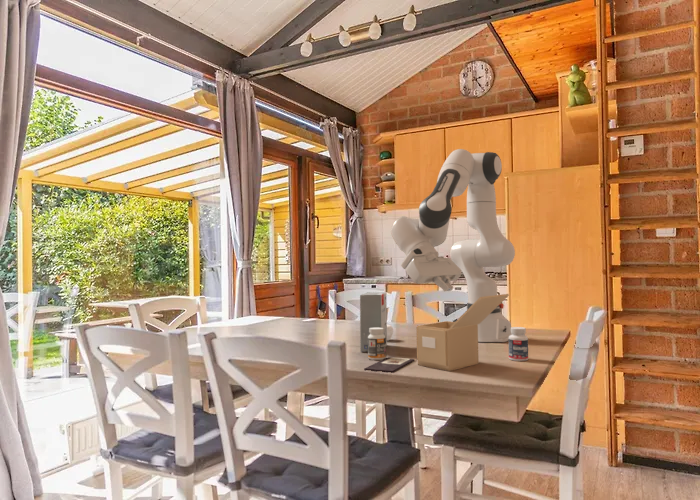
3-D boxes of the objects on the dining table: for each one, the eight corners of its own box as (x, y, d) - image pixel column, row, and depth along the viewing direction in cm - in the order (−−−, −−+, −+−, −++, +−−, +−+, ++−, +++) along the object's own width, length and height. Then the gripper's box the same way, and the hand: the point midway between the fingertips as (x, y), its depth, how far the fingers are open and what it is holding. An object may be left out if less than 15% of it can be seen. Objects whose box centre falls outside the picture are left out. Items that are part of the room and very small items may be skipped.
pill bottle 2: (512, 361, 163) (511, 329, 163) (506, 357, 169) (505, 326, 169) (531, 361, 163) (530, 329, 163) (524, 357, 169) (524, 326, 169)
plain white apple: (373, 341, 205) (373, 321, 205) (378, 338, 212) (377, 318, 212) (391, 342, 203) (390, 321, 203) (395, 339, 210) (394, 319, 210)
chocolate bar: (364, 368, 155) (388, 357, 171) (364, 371, 155) (388, 360, 171) (392, 371, 151) (414, 359, 167) (392, 374, 151) (414, 362, 167)
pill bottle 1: (380, 361, 168) (380, 329, 168) (365, 359, 170) (364, 328, 171) (388, 358, 172) (388, 327, 172) (373, 356, 175) (372, 326, 175)
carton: (447, 357, 170) (446, 320, 171) (479, 363, 161) (478, 324, 161) (415, 365, 161) (414, 325, 161) (447, 371, 151) (447, 329, 151)
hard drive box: (381, 352, 182) (380, 294, 182) (359, 352, 183) (358, 295, 183) (387, 345, 197) (386, 291, 197) (367, 344, 198) (366, 291, 198)
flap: (478, 322, 160) (508, 293, 152) (479, 323, 160) (509, 295, 152) (449, 327, 151) (479, 297, 143) (450, 328, 151) (481, 298, 143)
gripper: (439, 263, 176) (464, 294, 168) (396, 265, 162) (421, 299, 155) (450, 249, 172) (475, 280, 165) (407, 250, 159) (433, 284, 152)
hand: (449, 289), depth 160 cm, fingers closed
